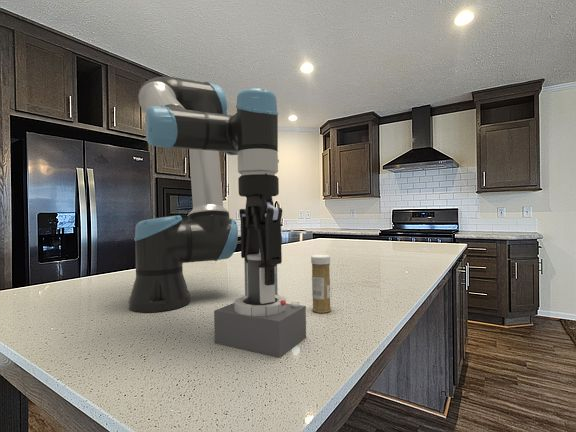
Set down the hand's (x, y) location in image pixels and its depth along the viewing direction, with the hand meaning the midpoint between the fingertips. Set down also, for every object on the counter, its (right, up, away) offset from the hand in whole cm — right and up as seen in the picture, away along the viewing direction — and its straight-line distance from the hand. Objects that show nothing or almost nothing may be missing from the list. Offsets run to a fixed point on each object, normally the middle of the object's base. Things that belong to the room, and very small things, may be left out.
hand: (260, 298), depth 64 cm
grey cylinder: (0, -2, 0) cm, 2 cm away
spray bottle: (-2, -8, +29) cm, 30 cm away
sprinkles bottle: (+13, -8, +18) cm, 24 cm away
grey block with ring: (0, -8, 0) cm, 8 cm away
